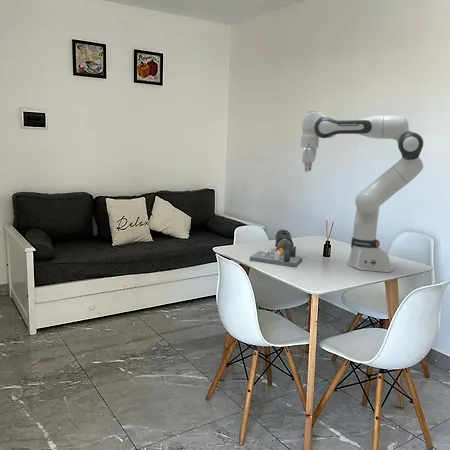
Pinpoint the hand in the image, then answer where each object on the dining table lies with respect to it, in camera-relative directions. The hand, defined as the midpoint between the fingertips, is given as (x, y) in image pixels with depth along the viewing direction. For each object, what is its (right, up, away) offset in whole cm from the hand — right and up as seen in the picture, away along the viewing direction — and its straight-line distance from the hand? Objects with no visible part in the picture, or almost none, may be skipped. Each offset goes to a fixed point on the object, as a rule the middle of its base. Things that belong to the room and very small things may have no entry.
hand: (307, 171), depth 236 cm
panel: (-16, -46, 0) cm, 49 cm away
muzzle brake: (-10, -43, +19) cm, 48 cm away
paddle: (-14, -44, -1) cm, 46 cm away
